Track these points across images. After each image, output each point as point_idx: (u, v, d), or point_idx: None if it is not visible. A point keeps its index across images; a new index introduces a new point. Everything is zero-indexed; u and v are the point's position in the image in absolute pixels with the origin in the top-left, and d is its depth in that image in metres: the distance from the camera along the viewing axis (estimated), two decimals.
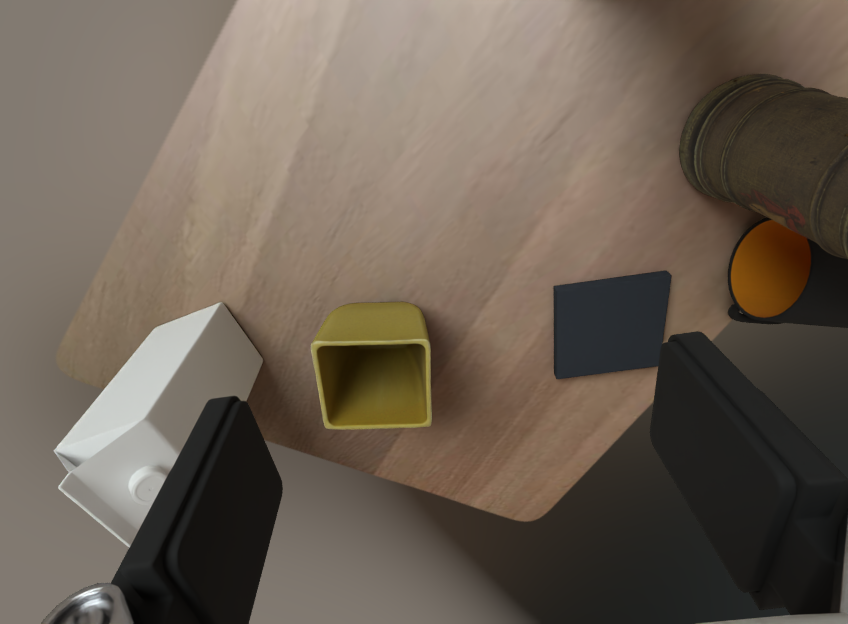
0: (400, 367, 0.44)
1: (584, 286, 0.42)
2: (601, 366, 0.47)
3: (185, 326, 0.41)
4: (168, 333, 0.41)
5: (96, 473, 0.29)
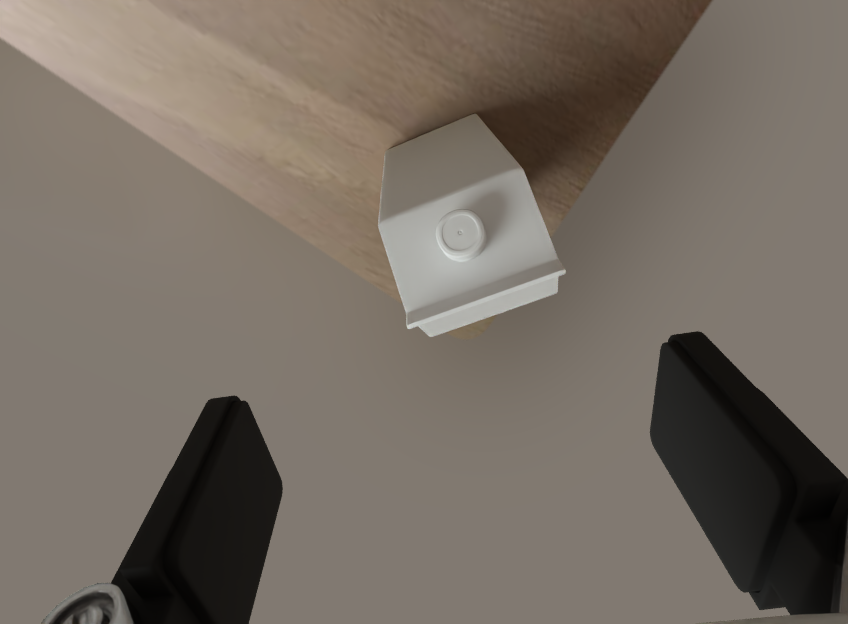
0: None
1: None
2: None
3: None
4: None
5: (422, 289, 0.22)
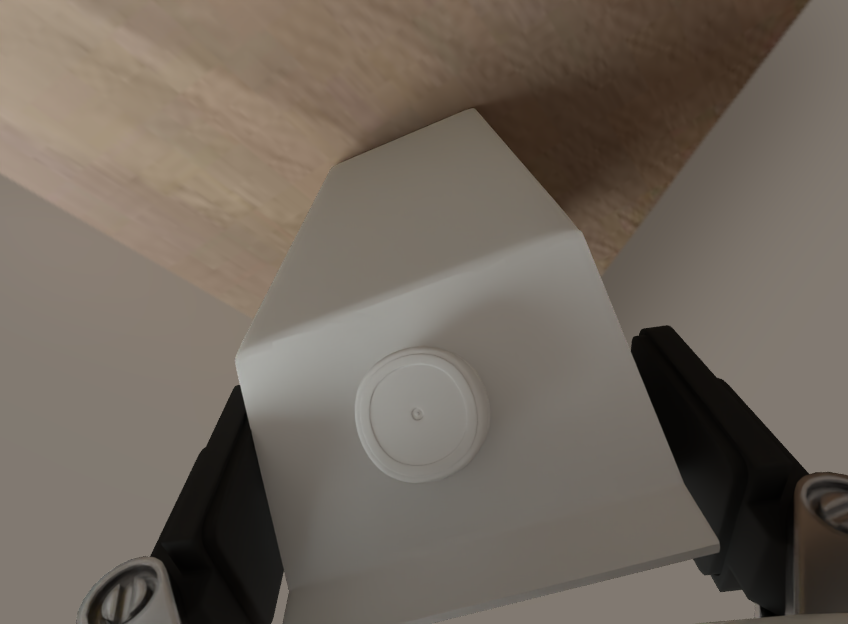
0: None
1: None
2: None
3: None
4: None
5: (328, 530, 0.09)
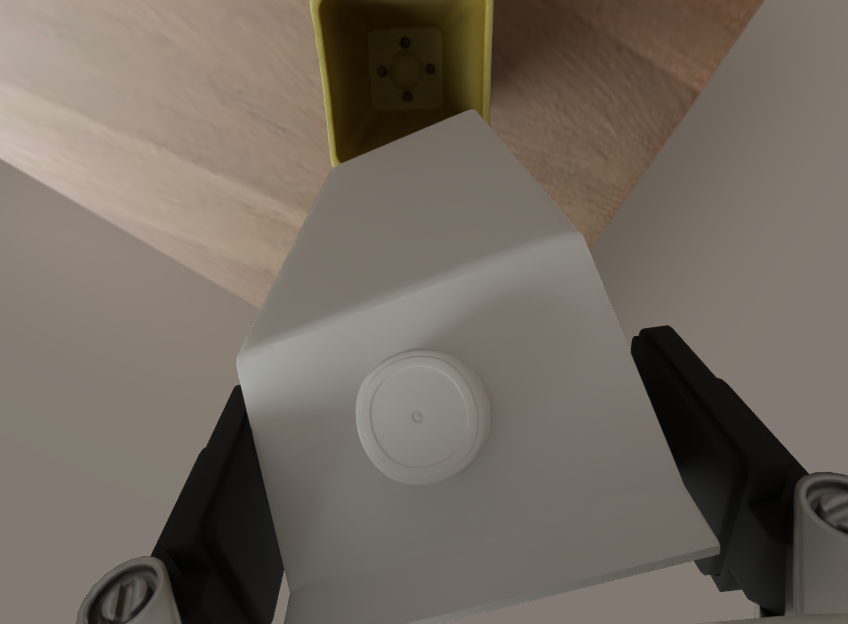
0: (457, 39, 0.29)
1: None
2: None
3: None
4: None
5: (329, 532, 0.09)
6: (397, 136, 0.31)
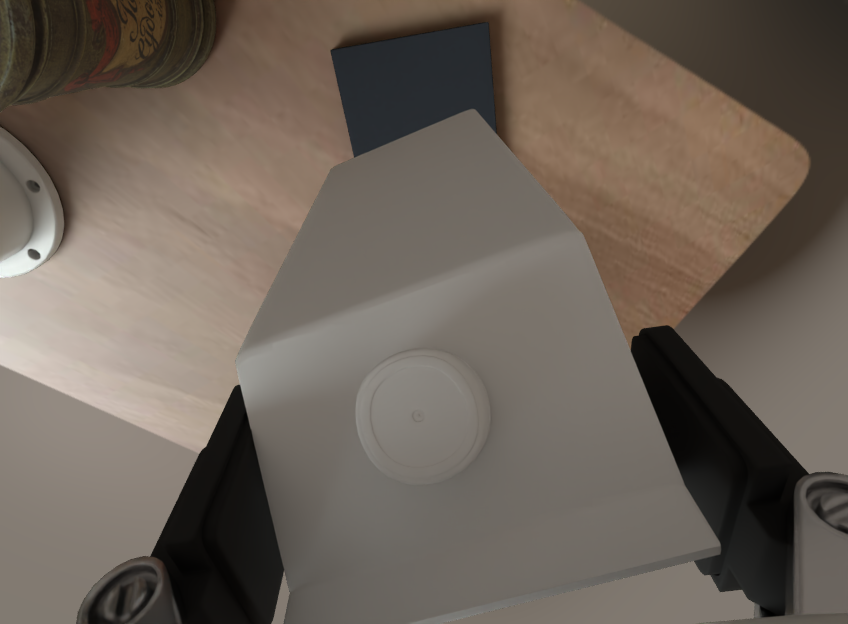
0: None
1: None
2: None
3: None
4: None
5: (329, 532, 0.09)
6: None
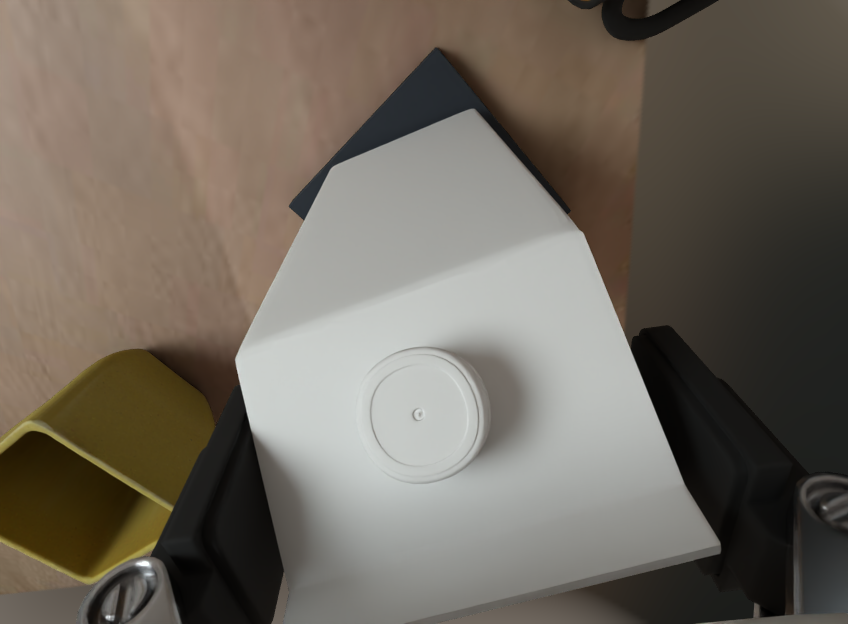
0: None
1: (322, 170, 0.23)
2: None
3: None
4: None
5: (328, 531, 0.09)
6: (73, 450, 0.28)
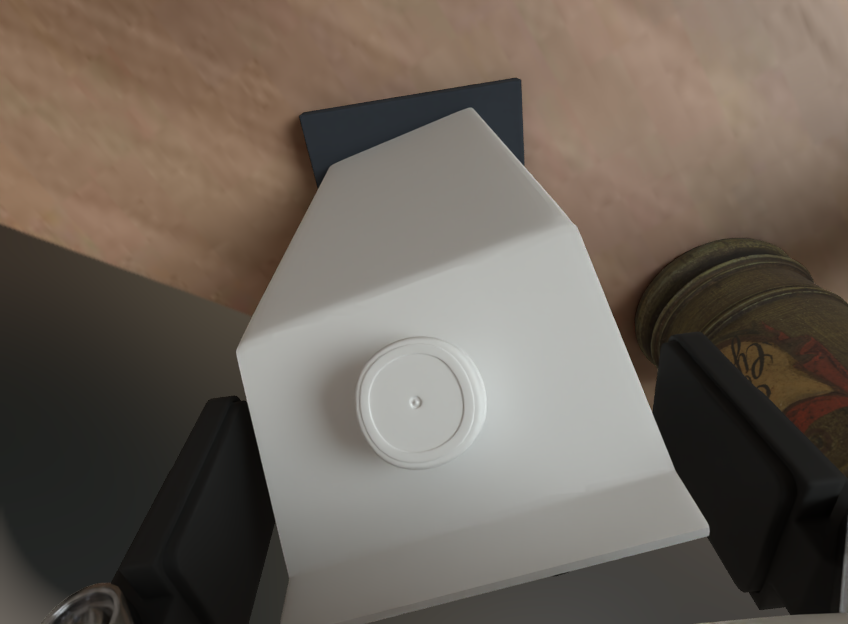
0: None
1: None
2: None
3: None
4: None
5: (328, 519, 0.09)
6: None
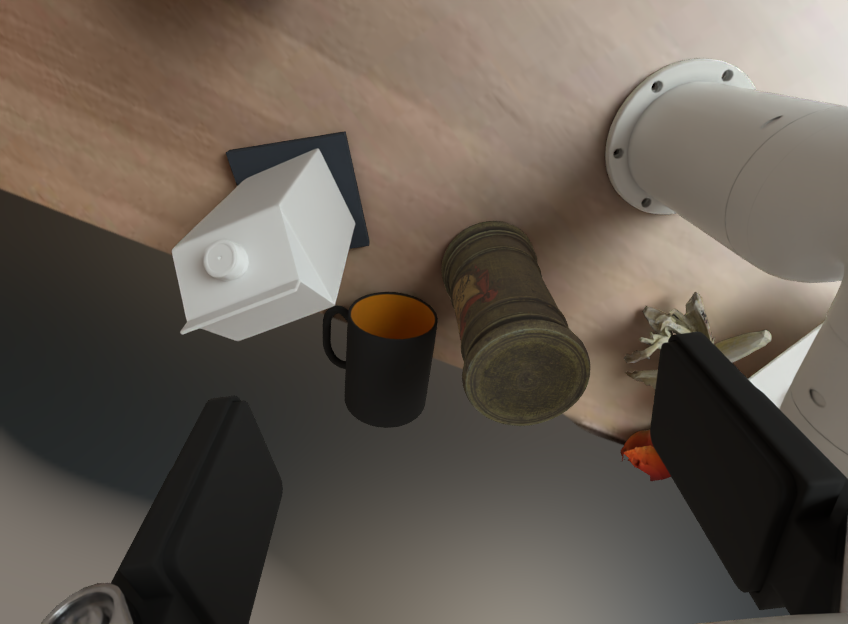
0: None
1: (350, 163, 0.41)
2: None
3: None
4: None
5: (199, 302, 0.27)
6: None
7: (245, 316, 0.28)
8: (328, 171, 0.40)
